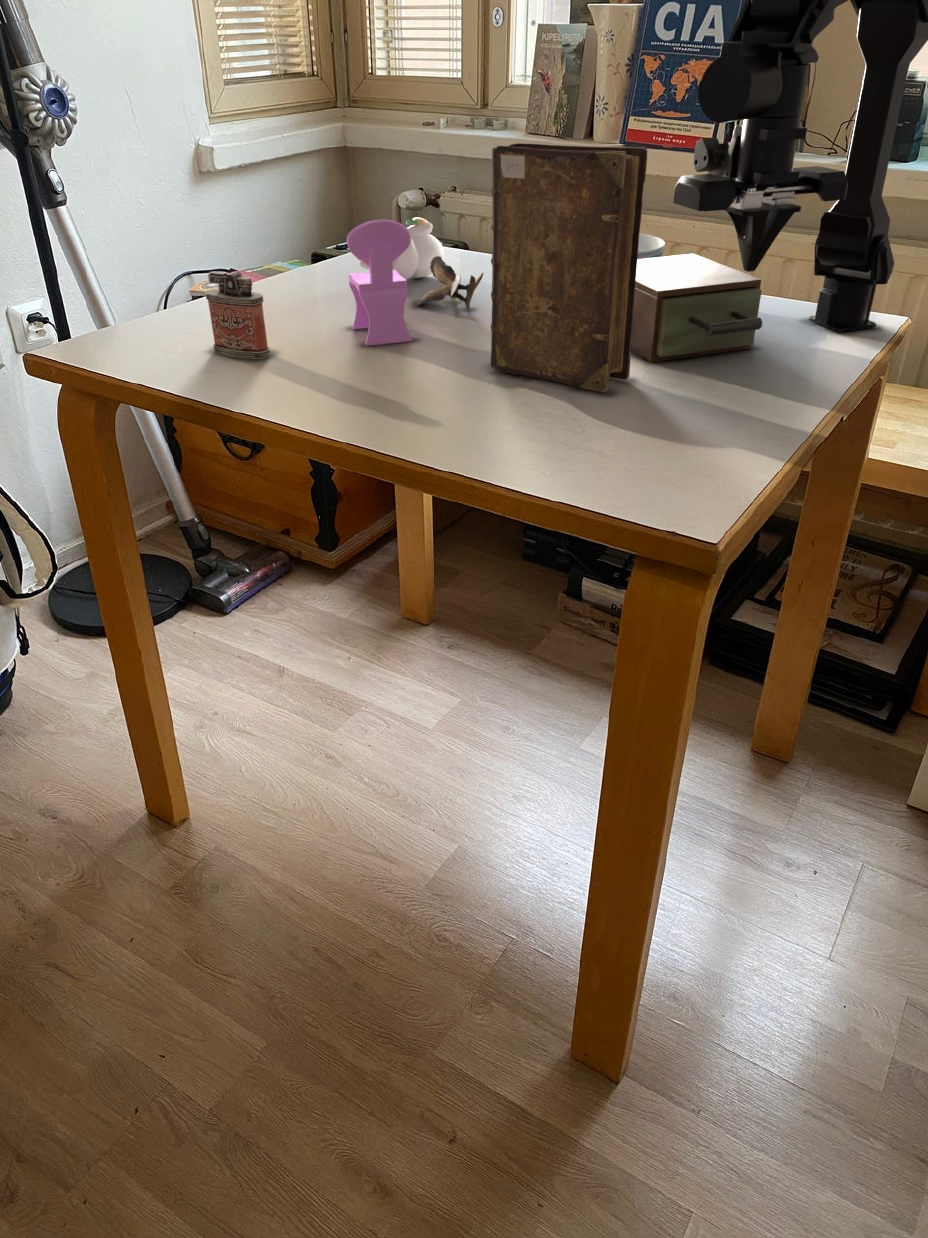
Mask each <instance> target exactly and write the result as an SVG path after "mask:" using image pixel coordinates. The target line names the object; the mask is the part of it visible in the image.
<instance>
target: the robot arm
mask: <svg viewBox="0 0 928 1238" xmlns="http://www.w3.org/2000/svg"><path fill="white" fill-rule="evenodd" d="M848 1H850V4H851V5H852V8H853V10H854V12H855V14H856V17H857V19H858V20H857V32H856V41H857V44H858V46H859V49H860V52H861V56H862V58H863V60H864V64H865V67H864V72H863V78H862V83H861V89H860V94H859V100H858V105H857V110H856V114H855V120H854V126H853V130H852V136H851V142H850V147H849V152H848V156H847V157H848V158H847V163H846V168H845V171H844V170H839V169H835V168H830V167H825V166H821V165H813V166H800V167H799V166H798V167H794V166H793V165H794V160H795V154H796V150H797V142H798V140H806V137H807V132H808V127H803V126H800V124H801V118H802V111H803V107H804V100H805V94H806V89H807V81H808V75H809V69H810V64H816V63H818V62H819V57H820V56H819V54H818V52H817V50H816V48H814V46H813V45H812V44H813V42H814V40H815V39H816V38H817V37H818V36H819V35H820V34H821V33H822V32H823V31H825V29H826V28H827V27H828V26H829V25H830V24H831V23H833V21H834V19H835V10H836V9H837V8H838V7H839V6H841V5H843V4H844V3H847V2H848ZM926 43H928V0H745V1H744V4H743V6H742V7H741V11H740V13H739V15H738V17H737V19H736V21H735V24H734V26H733V28H732V30H731V32H730V34H729V37H728V39H727V41H723V42H722V43H721V48H720V55H719V57H717V58H715V59H714V60H713V61H712V62H710V64H708V66H707V67H706V69H705V71H704V72H703V74H702V77H701V78H700V81H699V82H698V87H697V98H698V103H699V107H700V109H701V111H702V113H703V114H704V115H705V117H706V118H707V119H709V120H710V121H712V122H714V123H716V124H724V123H731V122H736V121H737V122H738V121H743V123H742V124H741V123H740V124H735V126H734V129H733V131H732V137H731V140H730V141H729V142H724V143H723V142H722V143H720V141H719V138H718V137H715V136H714V137H713V136H712V137H703V138H702V137H701V138H700V139H698V140H697V141H696V142H695V148H694V153H693V169H694V170H695V172H696V173H699V174H685V175H681V177H680V178H679V179H678V181H677V182H676V184H675V186H674V188H673V189H674V190H673V199H672V204H674V205H678V206H680V207H683V208H688V209H691V210H694V211H697V212H717V211H726V213H727V215H728V216H729V217H730V219H731V221H732V223H733V227H734V230H735V234H736V238H737V244H738V248H739V253H740V259H741V264H742V268H743V270H744V272H748V273H751V272H755V271H756V270H757V268H758V267H759V265H760V263H761V262H762V261H763V259H764V257H765V255H766V254H767V252H768V251H769V249H770V248H771V246H772V244H773V243H774V242H775V240H776V239H777V237H778V236H779V234H780V233H781V231H783V229H784V227H785V226H786V225H787V223H788V222H789V221H790V220H791V218H792V217H793V215H795V213H800V212H801V211H802V206H801V205H799V204H795V200H796V199H795V195H805V194H817V196H818V197H819V199H820V201H821V202H834V201H836V202H835V203H834V204H833V206H831V208H830V210H829V211H825V212H823V215H822V216H821V217H820V224H819V231H818V234H817V236H816V239H815V243H814V265H813V266H814V270H813V273H814V276H817V277H819V276H820V277H824V278H823V285H822V288H821V289H820V290H819V294H818V299H817V305H816V311H815V315H809V316H808V321H810V322H812V323H815V324H817V325H820V326H822V327H824V328H826V329H829V330H832V331H834V332H838V333H841V332H849V331H856V330H857V331H858V330H864V329H871V328H876V327H877V322H874V321H872V320H870V315H871V311H872V306H873V302H874V298H875V293H876V289H877V285H887V284H888V282H889V280H890V278H891V275H892V274H893V270H894V267H895V260H894V255H893V251H892V246H891V243H890V239H889V232H890V231H889V230H890V223H891V218H890V216H889V213H888V209H887V207H886V204H885V202H884V199H883V191H884V188H885V187H884V186H885V182H886V177H887V173H888V169H889V164H890V163H889V162H890V159H891V154H892V149H893V144H894V139H895V135H896V129H897V126H898V122H899V121H898V119H899V117H900V111H901V106H902V101H903V98H904V94H905V93H904V92H905V87H906V82H907V78H908V73H909V69H910V65H911V63H912V62H913V61H914V60H915V58H916V56H918V54H919V53H920V51H921V50H922V49H923V48H924V46H925V45H926ZM701 173H702V174H701Z"/></svg>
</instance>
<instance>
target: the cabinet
mask: <svg viewBox="0 0 928 1238" xmlns="http://www.w3.org/2000/svg"><path fill="white" fill-rule="evenodd" d="M761 284H762V279H761V278H758V277H757V276H753V275H750V274H748V273H745V272H743V271H740V270H737V269H735V268H732V267H731V266H730V267H729V266H727V265H724V264H722V263H719V262H716V261H714V260H711V259H708V258H706V257H703V256H702V255H701V256H700V255H698V254H695V253H688V254H687V253H685V254H675V255H667V256H662V257H655V258H645V259H637V271H636V282H635V298H634V308H633V329H632V335H631V352H633V353H634V354H636V355H638V356H639V357H641V358H643V359H645V360H646V361H648V362H650V363H654V362H662V361H670V360H678V359H683V358H684V359H685V358H692V357H697V356H698V357H699V356H706V355H712V354H719V353H728V352H736V351H743V350H748V349H750V350H751V347H752V345H746V346H739V347H732V348H724V349H717V350H710V351H703V352H695V353H688V354H681V355H674V356H666V357H660V356H658V355H656V351H657V342H658V332H659V322H660V312H661V303H662V299H663V298H662V297H670V296H679V295H687V294H696V293H704V292H713V291H721V290H730V289H739V288H745V289H749V288H758V289H761Z"/></svg>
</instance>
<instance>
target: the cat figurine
mask: <svg viewBox="0 0 928 1238" xmlns="http://www.w3.org/2000/svg"><path fill="white" fill-rule="evenodd" d="M405 222H406V223H405V226H408V227H407V228H408V230H409V232H410V236H411V240H410V245H409V247H408V248H407V249H406V250H405V251H404V252H403V253H402V254H401V255H400V256H399V257H398V258H397V259H395V260H394V261H393V270H396V271H397V272H398V273H399V275H400V276H401V277H403V278H405V279H406V280H407V281H408V280H409V279H410V278H411V279H421V278H425V277H428V276H431V275H433V273H432V272H431V269H430V266H431V264H430V263H431V260H432V259H433V258H434V257H436V256H438V257H439V256H440V257H441V258H442V260H443V261H444V259H445V251H444V247H443V244H442V243H441V241H440V240H439V239H437V238H436V237H435V236H434V235H432V234H431V233H432V232H433V229H434V228H433V227H434V226H433V224H432V223H431V222H429V221H428V220H427V219H425V218H422V217H419V216H418V217H413V218H412V217H410V218H407V219H406V220H405ZM412 224H413V225H412ZM359 266H360V268H361V269H363V270H368V271H369V266H368V265H367V264H365V263H364V262H362V261H360V260H359Z"/></svg>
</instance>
